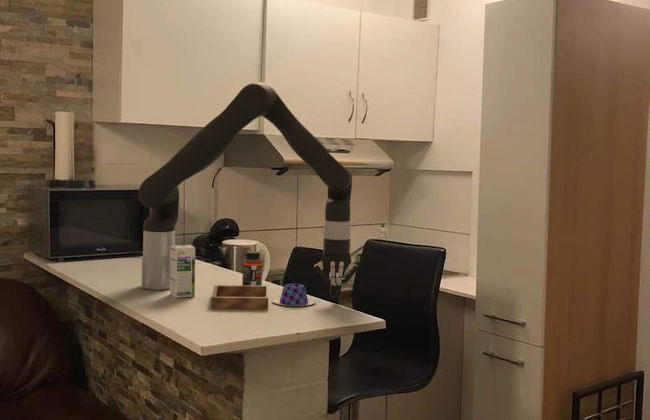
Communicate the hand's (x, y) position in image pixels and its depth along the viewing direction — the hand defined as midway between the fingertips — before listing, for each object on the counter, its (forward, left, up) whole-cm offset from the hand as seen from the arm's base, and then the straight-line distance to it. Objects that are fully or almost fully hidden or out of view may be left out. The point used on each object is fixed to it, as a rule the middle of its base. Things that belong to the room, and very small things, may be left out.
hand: (335, 297), depth 205 cm
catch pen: (-26, 0, -2) cm, 26 cm away
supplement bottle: (-23, +20, -2) cm, 30 cm away
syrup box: (-43, +8, -2) cm, 44 cm away
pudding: (-12, 0, -2) cm, 12 cm away
